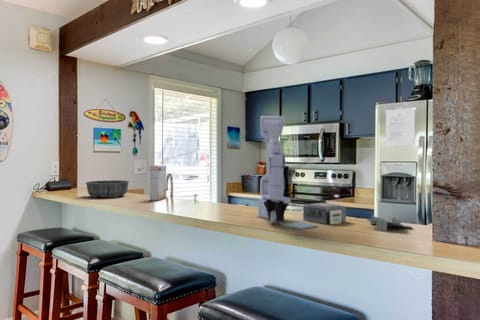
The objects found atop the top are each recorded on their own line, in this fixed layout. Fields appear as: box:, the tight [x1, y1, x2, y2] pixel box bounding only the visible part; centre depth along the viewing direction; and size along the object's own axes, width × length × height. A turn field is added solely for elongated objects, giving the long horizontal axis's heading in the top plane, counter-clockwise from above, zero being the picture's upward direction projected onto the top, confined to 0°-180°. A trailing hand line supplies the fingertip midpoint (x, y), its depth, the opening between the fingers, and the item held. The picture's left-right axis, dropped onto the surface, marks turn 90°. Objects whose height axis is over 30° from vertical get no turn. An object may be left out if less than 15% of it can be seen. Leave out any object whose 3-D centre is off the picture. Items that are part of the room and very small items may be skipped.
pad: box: [282, 221, 318, 231], centre depth 134 cm, size 9×9×1 cm
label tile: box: [329, 210, 342, 225], centre depth 141 cm, size 1×6×5 cm, turn 126°
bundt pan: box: [85, 179, 130, 198], centre depth 234 cm, size 26×26×10 cm
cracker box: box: [149, 164, 167, 202], centre depth 220 cm, size 14×6×21 cm, turn 172°
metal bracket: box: [366, 214, 413, 232], centre depth 133 cm, size 14×6×15 cm
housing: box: [302, 202, 347, 225], centre depth 148 cm, size 12×13×7 cm
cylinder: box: [269, 209, 282, 226], centre depth 139 cm, size 4×4×6 cm
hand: (275, 220), depth 139 cm, fingers closed on cylinder, 4 cm apart
